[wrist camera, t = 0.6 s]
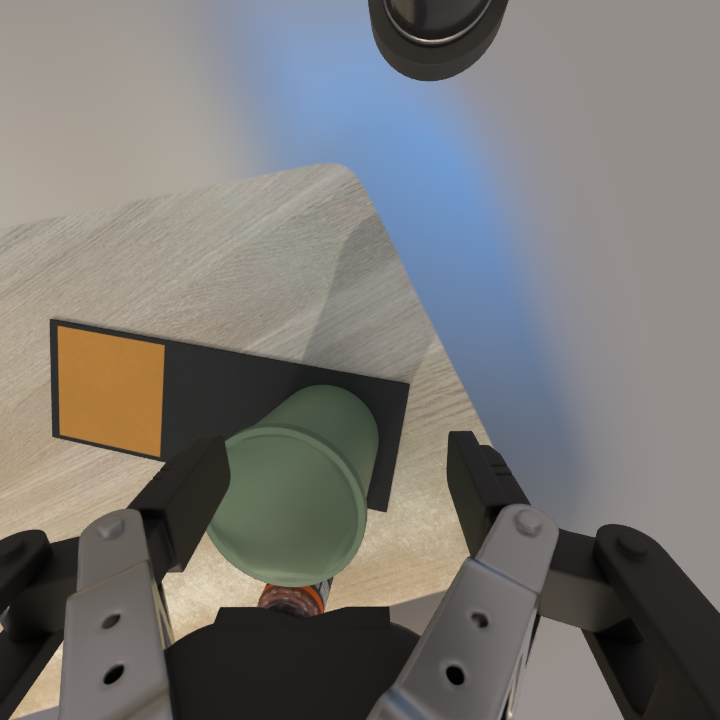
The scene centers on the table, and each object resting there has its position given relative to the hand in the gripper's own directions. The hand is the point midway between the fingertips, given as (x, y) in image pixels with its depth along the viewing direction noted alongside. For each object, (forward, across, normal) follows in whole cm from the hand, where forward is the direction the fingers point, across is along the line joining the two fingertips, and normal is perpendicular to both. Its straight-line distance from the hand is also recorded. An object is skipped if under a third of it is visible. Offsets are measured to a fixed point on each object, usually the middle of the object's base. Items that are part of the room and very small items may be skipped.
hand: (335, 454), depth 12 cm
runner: (+23, +16, +10) cm, 30 cm away
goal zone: (+25, +28, +8) cm, 38 cm away
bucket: (+21, +4, +12) cm, 24 cm away
